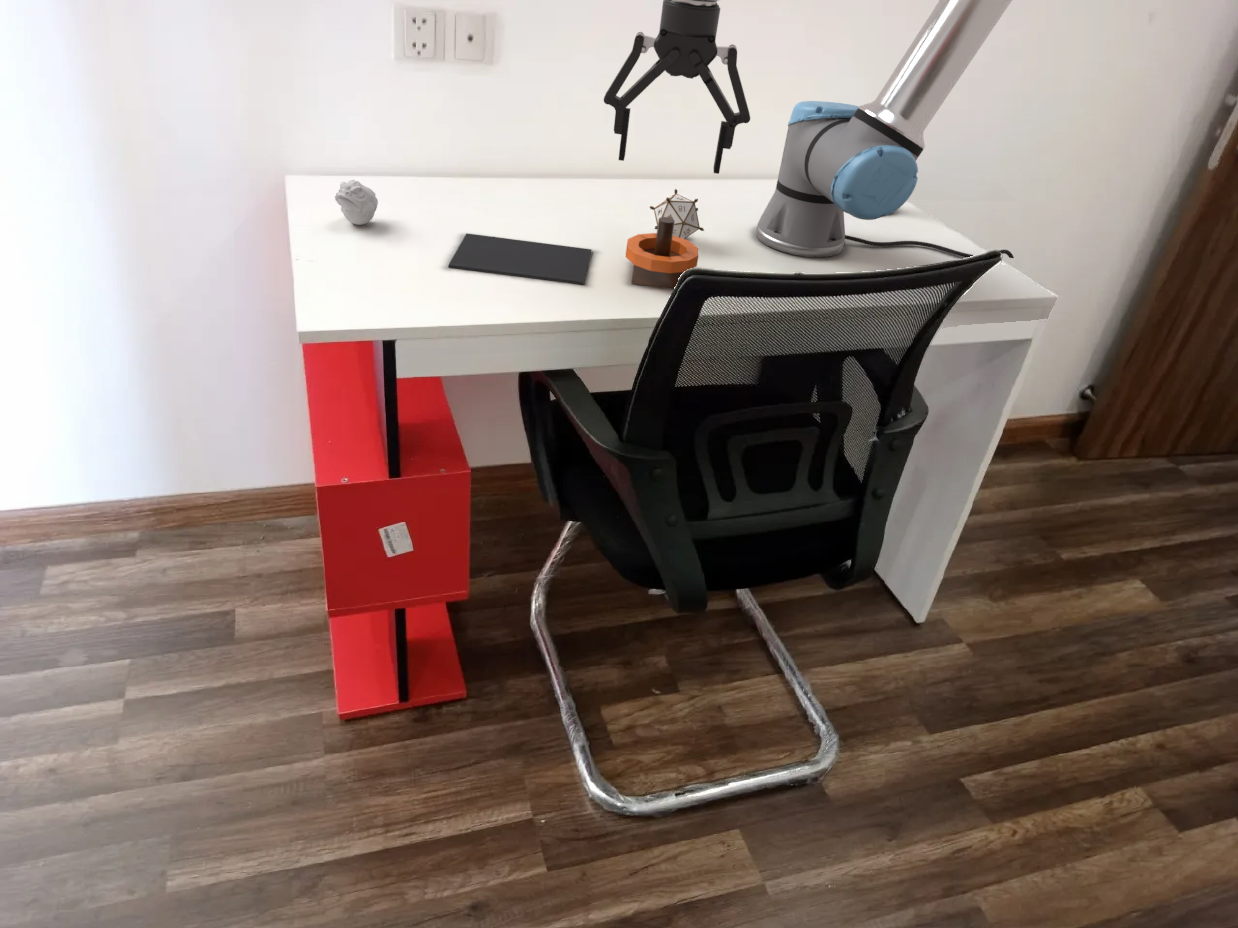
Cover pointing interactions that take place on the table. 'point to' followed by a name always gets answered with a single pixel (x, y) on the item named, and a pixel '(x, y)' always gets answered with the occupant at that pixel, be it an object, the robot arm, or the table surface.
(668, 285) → the post
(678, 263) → the ring
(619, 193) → the table surface
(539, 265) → the mat
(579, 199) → the table surface
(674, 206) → the game die
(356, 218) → the frog figurine
